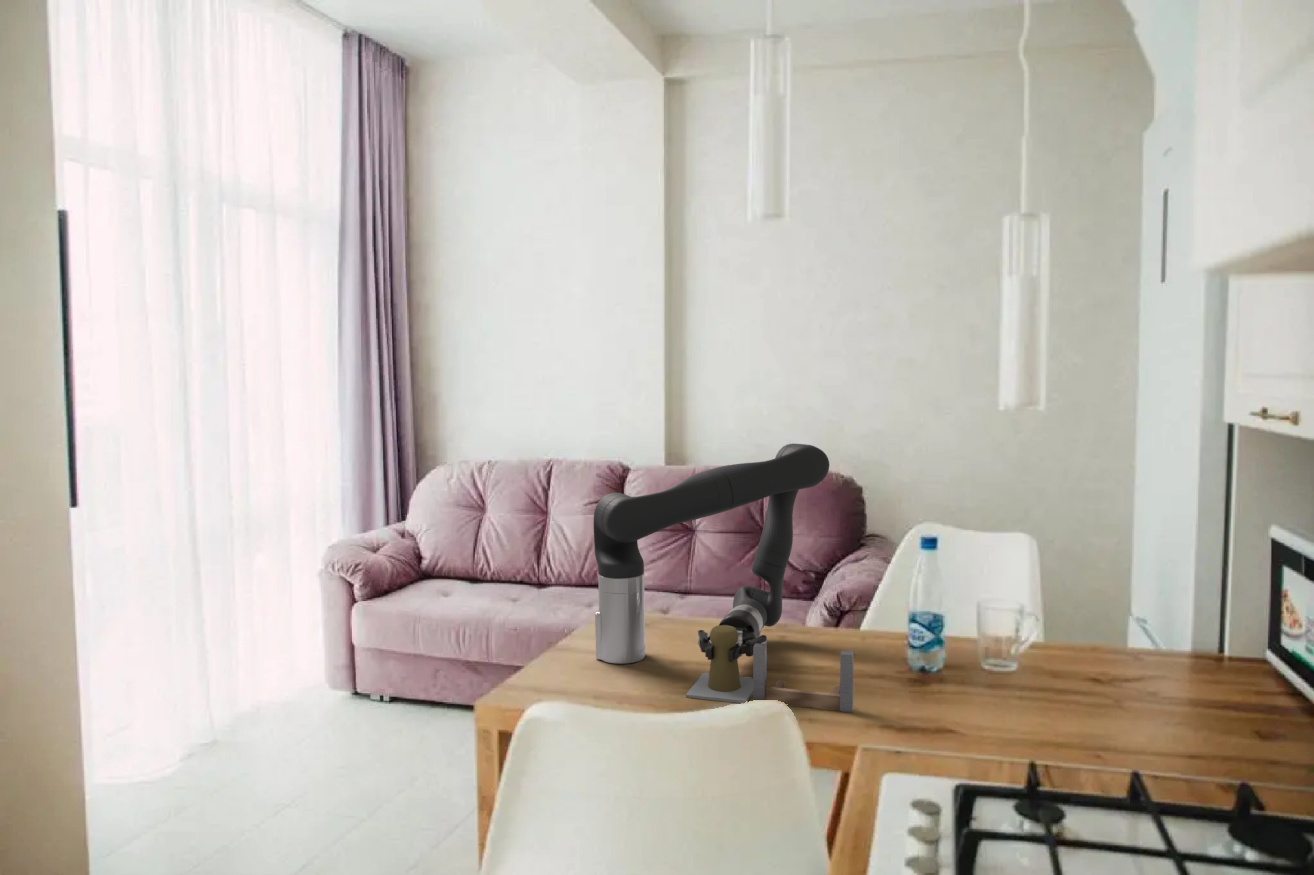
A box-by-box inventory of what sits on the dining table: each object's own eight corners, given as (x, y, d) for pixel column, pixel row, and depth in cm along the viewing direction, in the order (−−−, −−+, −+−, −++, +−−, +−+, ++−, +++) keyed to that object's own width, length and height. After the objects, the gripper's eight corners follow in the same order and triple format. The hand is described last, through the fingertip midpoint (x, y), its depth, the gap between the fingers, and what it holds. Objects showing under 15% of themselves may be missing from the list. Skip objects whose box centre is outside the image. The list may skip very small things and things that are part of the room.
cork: (740, 679, 173) (740, 621, 172) (741, 691, 167) (741, 631, 166) (707, 679, 173) (707, 621, 172) (707, 691, 167) (707, 631, 166)
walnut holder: (753, 702, 163) (753, 646, 162) (762, 685, 171) (762, 632, 170) (851, 712, 158) (852, 655, 157) (856, 695, 166) (857, 640, 165)
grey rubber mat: (686, 697, 166) (685, 694, 166) (703, 675, 177) (703, 672, 177) (746, 703, 162) (746, 700, 162) (760, 680, 174) (760, 678, 174)
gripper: (705, 606, 185) (682, 632, 168) (776, 611, 180) (758, 638, 164) (706, 643, 185) (682, 672, 169) (776, 649, 181) (759, 679, 165)
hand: (720, 655), depth 167 cm, fingers closed on cork, 3 cm apart
